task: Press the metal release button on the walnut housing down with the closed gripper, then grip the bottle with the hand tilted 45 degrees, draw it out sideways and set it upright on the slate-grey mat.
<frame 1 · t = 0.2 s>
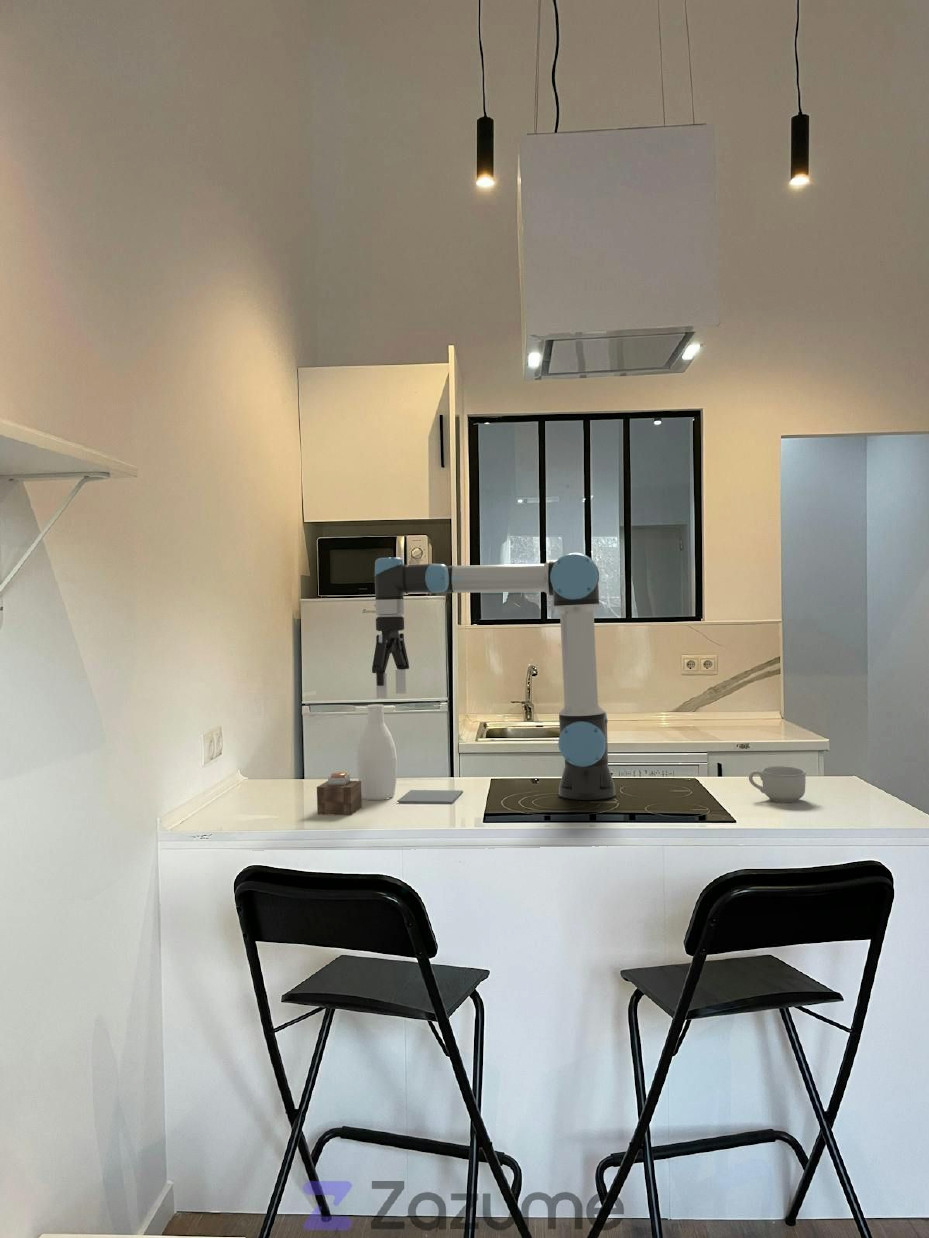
hand: (391, 695, 255), 29 cm above the countertop, tool pointing down, fingers open, 13 cm apart
release button: (339, 784, 247), point 7 cm above the countertop, slide at 0.0 cm
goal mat: (430, 797, 261), on the countertop
button housing: (340, 810, 247), on the countertop
bottle: (377, 797, 264), on the countertop
teacup: (777, 800, 246), on the countertop
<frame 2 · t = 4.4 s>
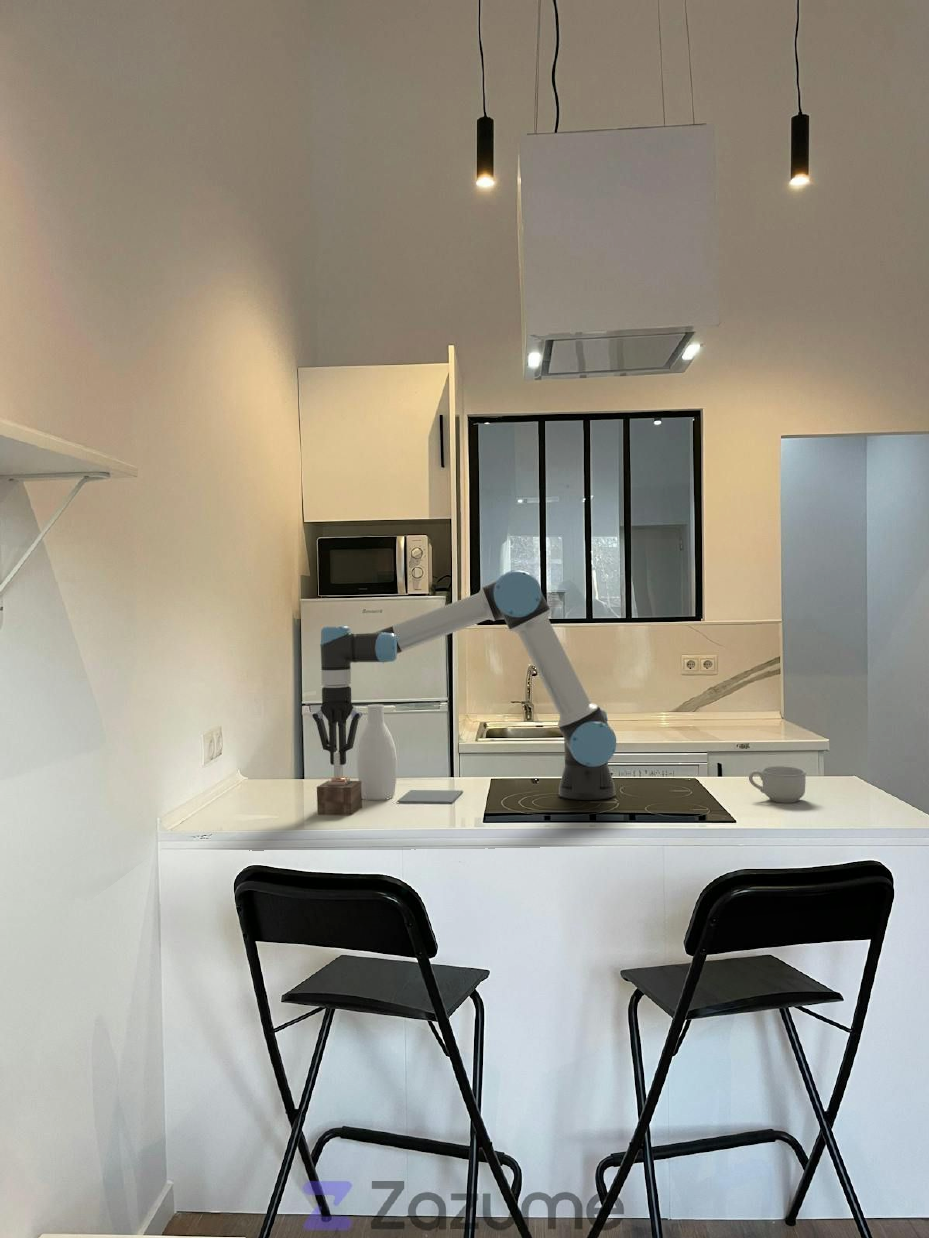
hand: (338, 777, 247), 9 cm above the countertop, tool pointing down, fingers closed
release button: (339, 788, 247), point 6 cm above the countertop, slide at 1.1 cm, touching gripper
everything else where it was.
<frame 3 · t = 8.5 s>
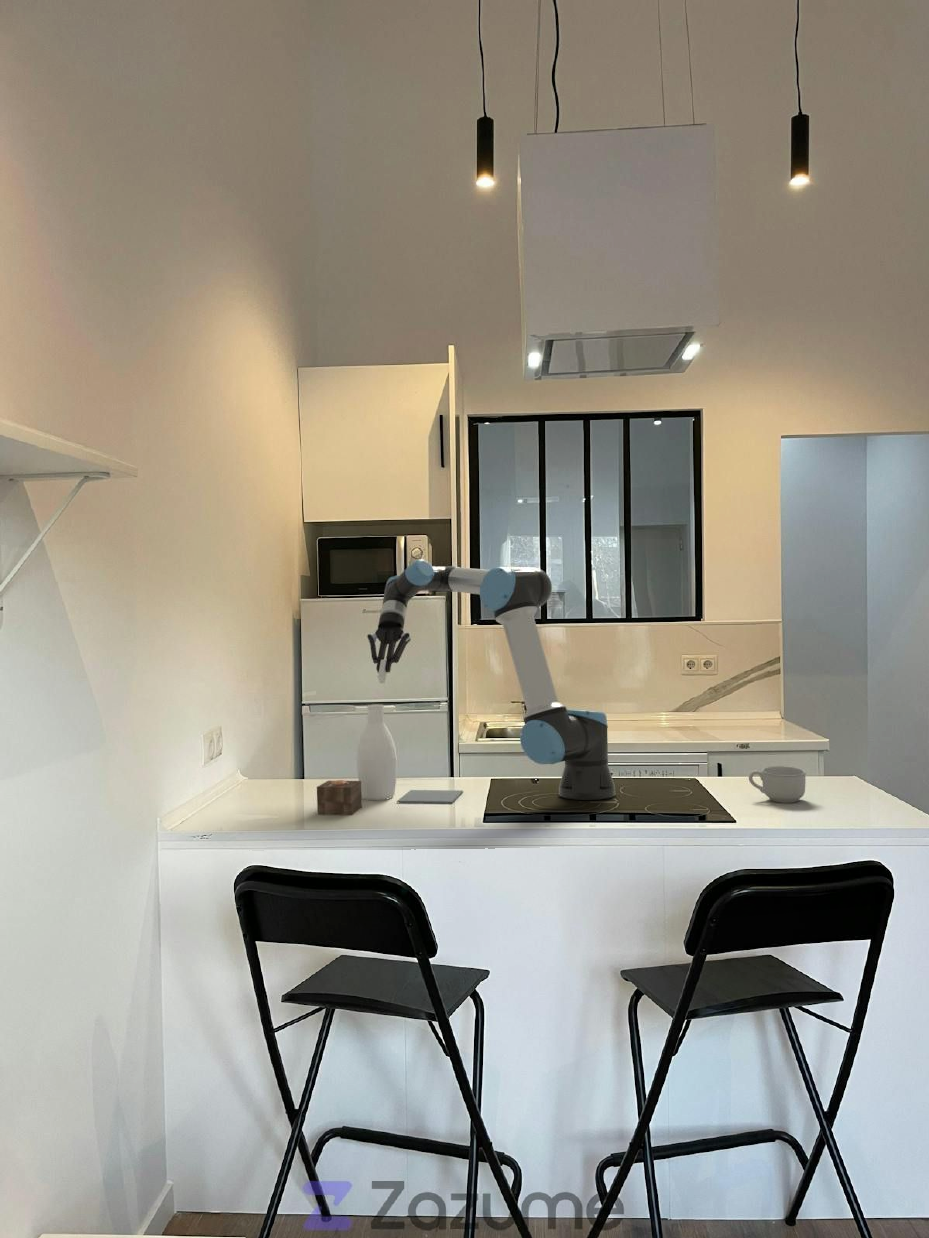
hand: (381, 680, 271), 32 cm above the countertop, tool tilted 45°, fingers closed
release button: (339, 792, 247), point 5 cm above the countertop, slide at 2.0 cm
everything else where it was.
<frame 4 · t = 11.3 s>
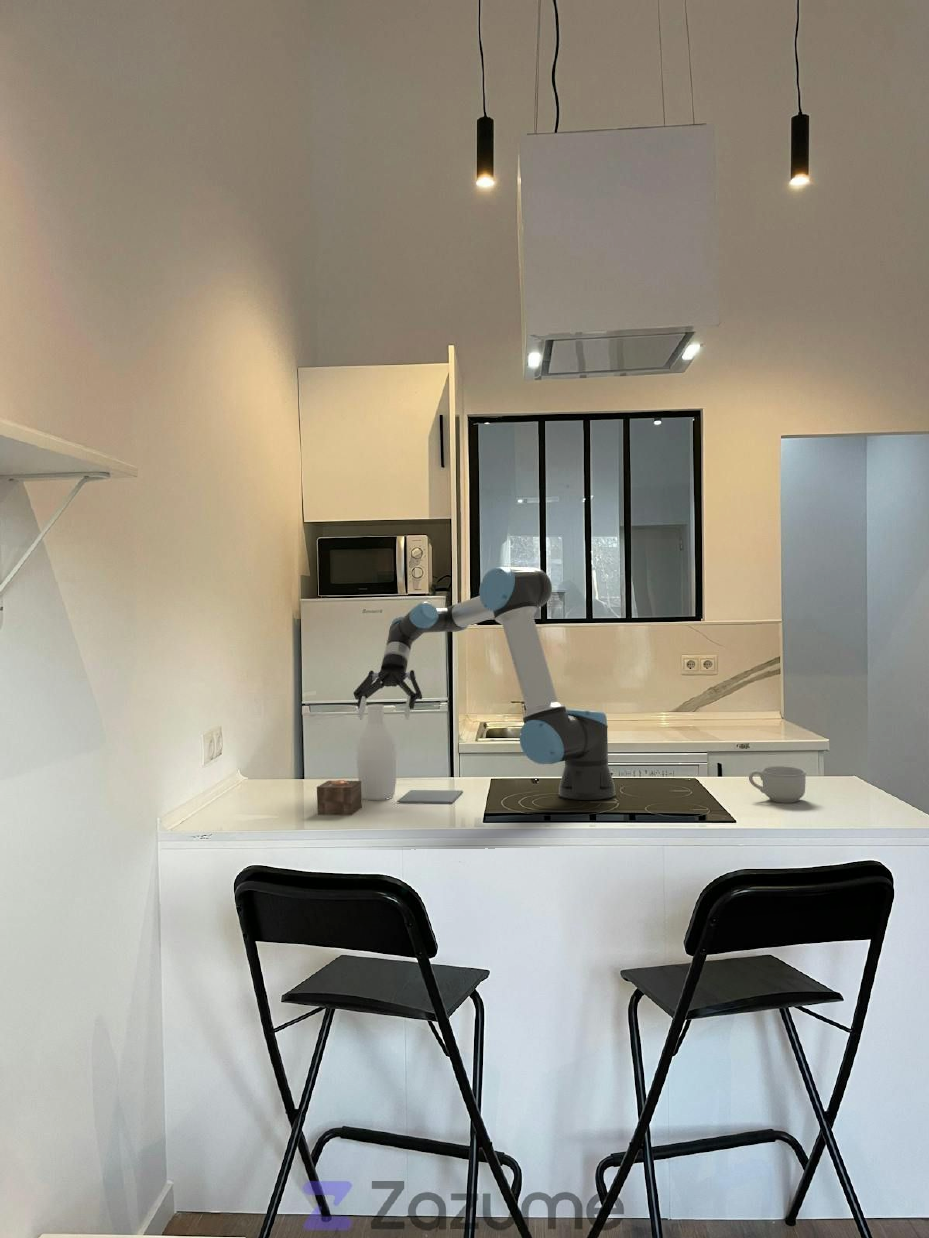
hand: (383, 716, 273), 21 cm above the countertop, tool tilted 45°, fingers open, 13 cm apart
nothing on the countertop moved.
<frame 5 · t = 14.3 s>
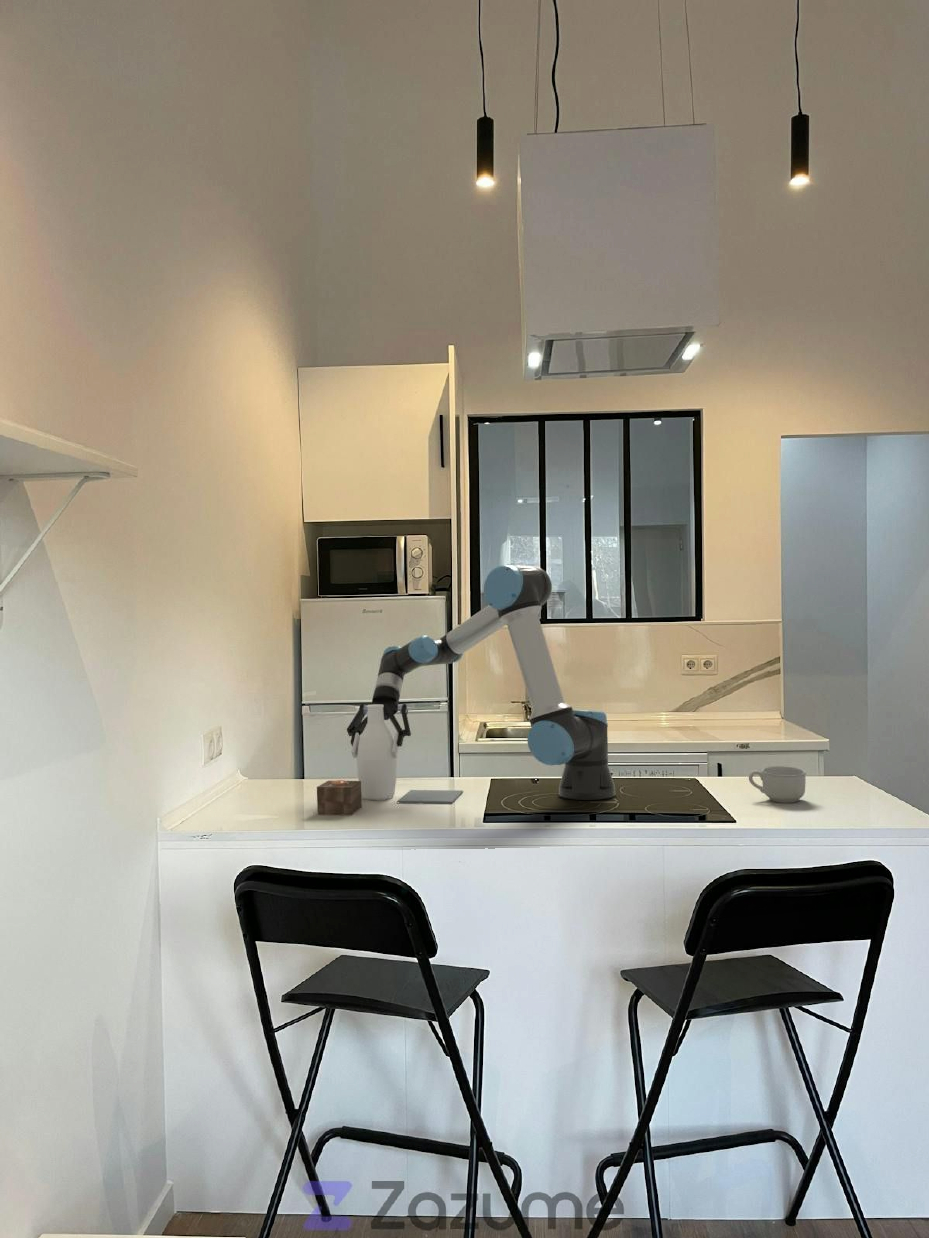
hand: (373, 754, 261), 12 cm above the countertop, tool tilted 45°, fingers closed on bottle, 11 cm apart
bottle: (377, 797, 264), on the countertop, touching gripper
everything else where it was.
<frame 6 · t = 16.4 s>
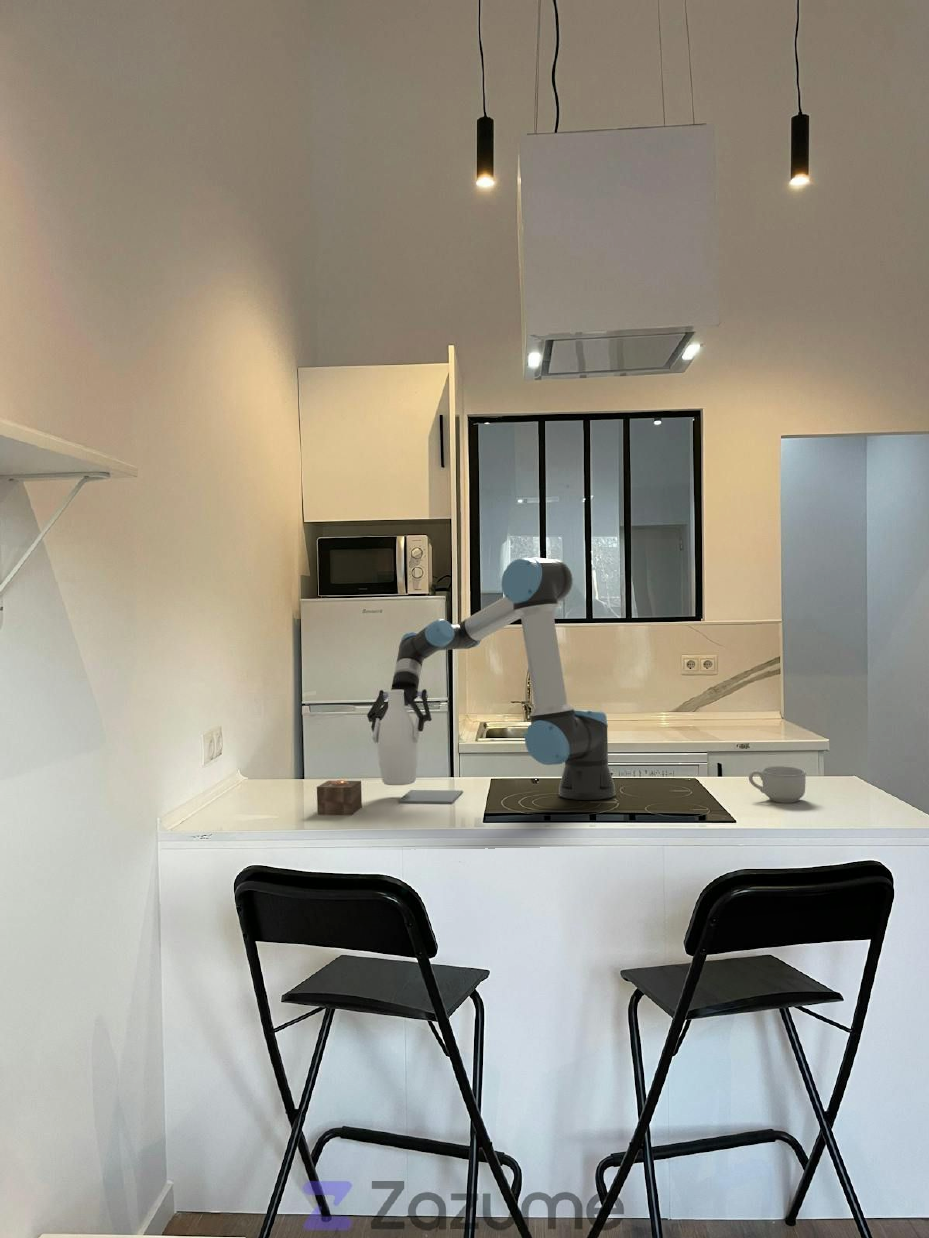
hand: (394, 739, 260), 16 cm above the countertop, tool tilted 45°, fingers closed on bottle, 11 cm apart
bottle: (399, 783, 263), point 4 cm above the countertop, touching gripper
everything else where it was.
when the fingers open (14 cm above the countertop, at t = 18.5 s): bottle stays where it is, resting on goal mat.
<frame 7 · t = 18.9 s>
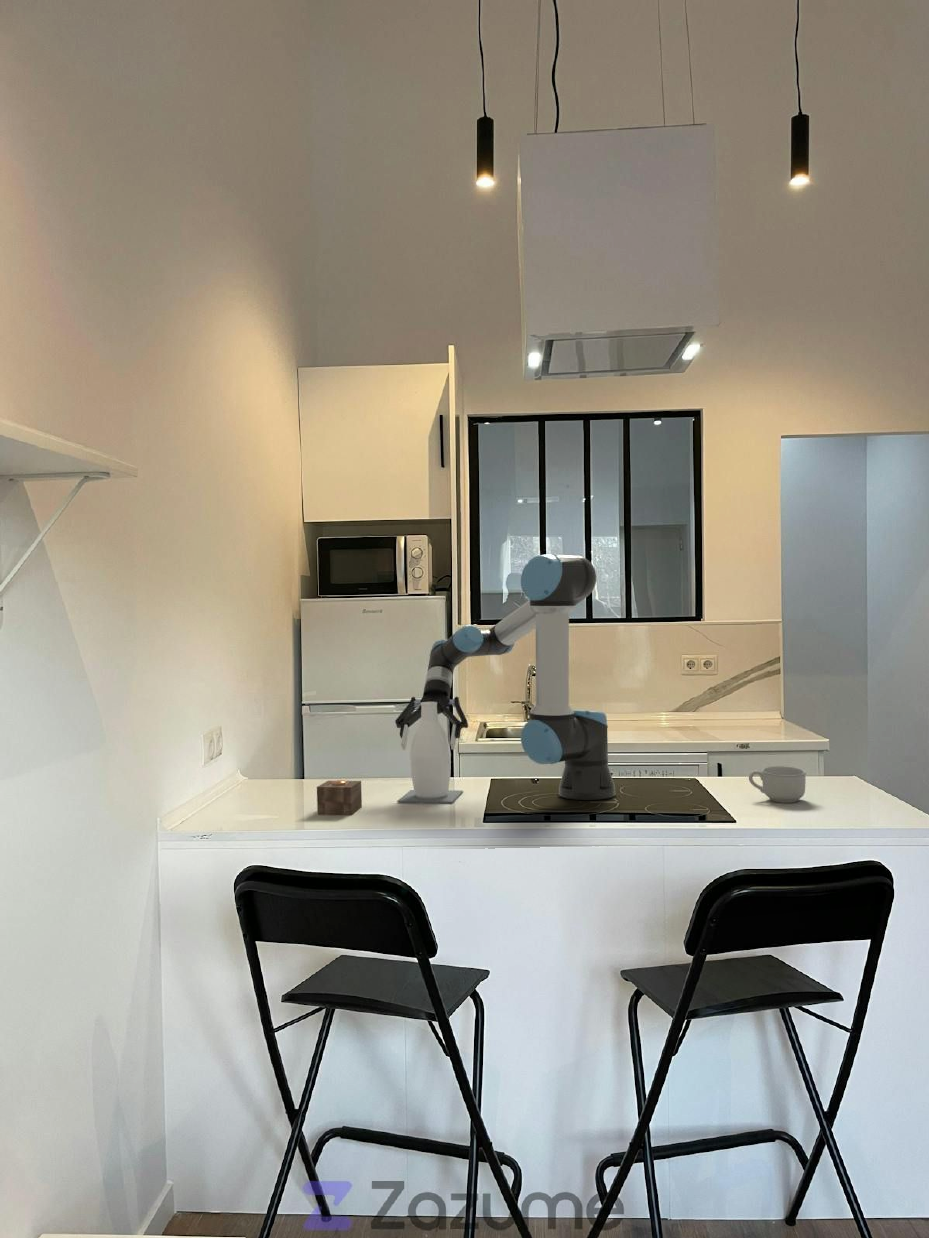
hand: (427, 746, 259), 14 cm above the countertop, tool tilted 45°, fingers open, 13 cm apart
bottle: (431, 796, 261), resting on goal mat
everything else where it was.
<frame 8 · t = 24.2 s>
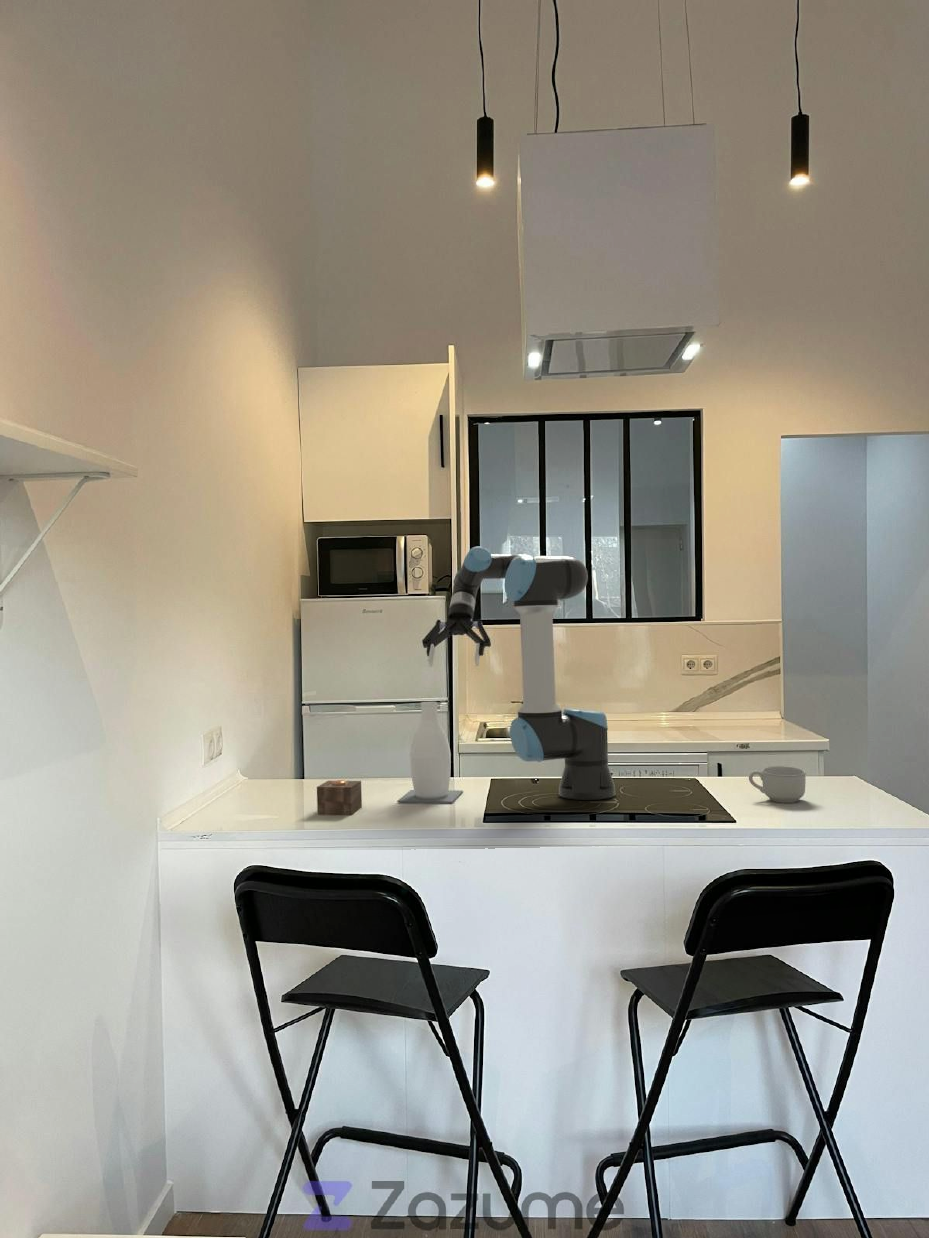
hand: (453, 663, 275), 36 cm above the countertop, tool tilted 45°, fingers open, 13 cm apart
nothing on the countertop moved.
at the end: release button slide at 2.0 cm; bottle inside the target area (0.2 cm from its centre), resting on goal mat; bottle tilted 0° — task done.
